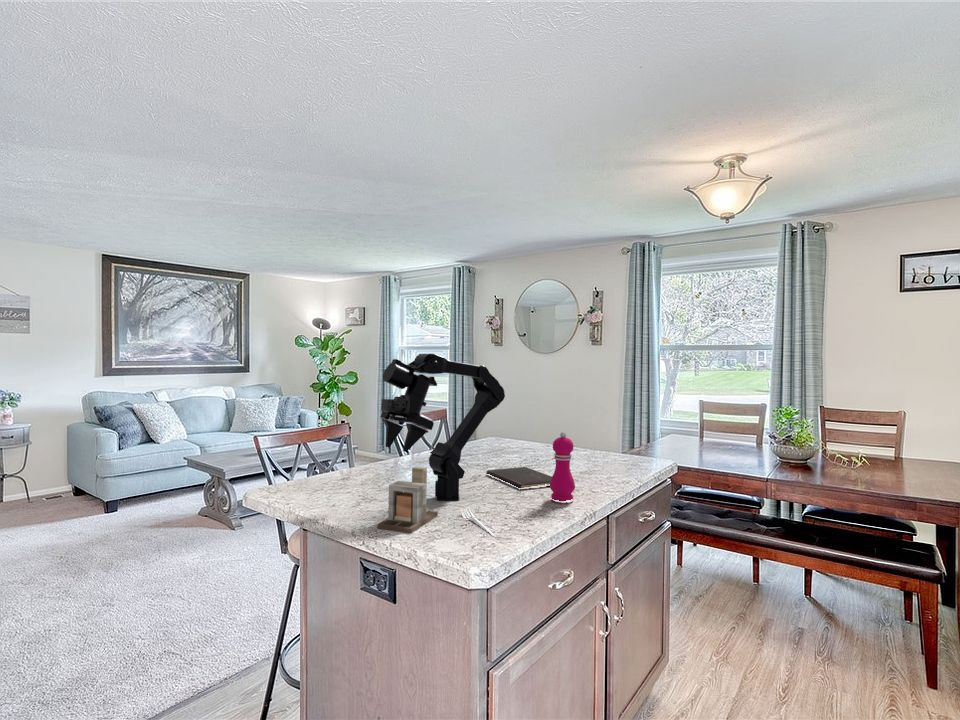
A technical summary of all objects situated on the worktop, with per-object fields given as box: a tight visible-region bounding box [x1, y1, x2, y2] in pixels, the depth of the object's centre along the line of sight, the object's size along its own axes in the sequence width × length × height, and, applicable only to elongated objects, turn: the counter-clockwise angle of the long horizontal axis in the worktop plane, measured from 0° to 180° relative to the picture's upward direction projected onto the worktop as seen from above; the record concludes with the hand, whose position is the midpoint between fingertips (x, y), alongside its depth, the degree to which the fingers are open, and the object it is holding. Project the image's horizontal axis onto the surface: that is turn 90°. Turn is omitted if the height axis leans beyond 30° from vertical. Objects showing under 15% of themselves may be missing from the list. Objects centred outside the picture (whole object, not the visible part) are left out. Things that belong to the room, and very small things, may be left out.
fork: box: [459, 507, 495, 537], centre depth 126 cm, size 3×20×2 cm, turn 23°
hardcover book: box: [486, 466, 553, 488], centre depth 174 cm, size 16×23×2 cm
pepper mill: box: [549, 431, 576, 501], centre depth 149 cm, size 7×7×20 cm
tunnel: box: [376, 480, 439, 534], centre depth 127 cm, size 14×9×9 cm, turn 160°
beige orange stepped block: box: [394, 466, 430, 522], centre depth 129 cm, size 10×4×11 cm, turn 160°
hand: (395, 449), depth 139 cm, fingers open, 9 cm apart
